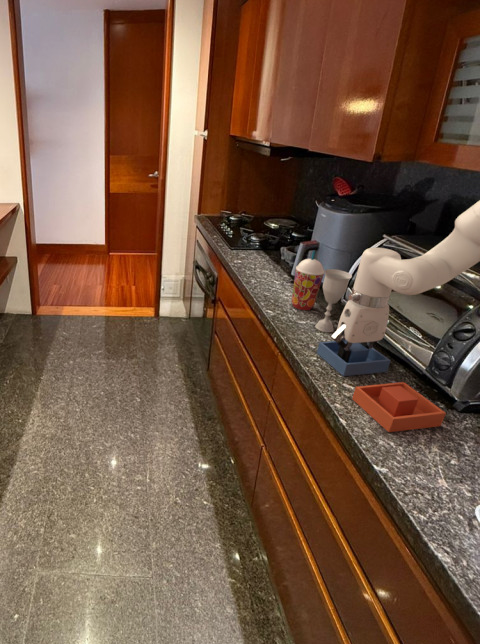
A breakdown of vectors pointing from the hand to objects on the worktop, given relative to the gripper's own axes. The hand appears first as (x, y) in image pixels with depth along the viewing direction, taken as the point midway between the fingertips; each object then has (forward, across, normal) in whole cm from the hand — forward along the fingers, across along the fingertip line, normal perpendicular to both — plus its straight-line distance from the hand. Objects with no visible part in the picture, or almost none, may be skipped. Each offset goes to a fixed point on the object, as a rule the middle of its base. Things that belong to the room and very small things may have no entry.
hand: (351, 359), depth 102 cm
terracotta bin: (+1, -4, -18) cm, 19 cm away
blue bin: (+1, 0, 0) cm, 1 cm away
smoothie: (+1, +7, +31) cm, 32 cm away
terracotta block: (0, -4, -18) cm, 18 cm away
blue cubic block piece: (0, 0, 0) cm, 0 cm away
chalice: (+1, +5, +17) cm, 18 cm away
